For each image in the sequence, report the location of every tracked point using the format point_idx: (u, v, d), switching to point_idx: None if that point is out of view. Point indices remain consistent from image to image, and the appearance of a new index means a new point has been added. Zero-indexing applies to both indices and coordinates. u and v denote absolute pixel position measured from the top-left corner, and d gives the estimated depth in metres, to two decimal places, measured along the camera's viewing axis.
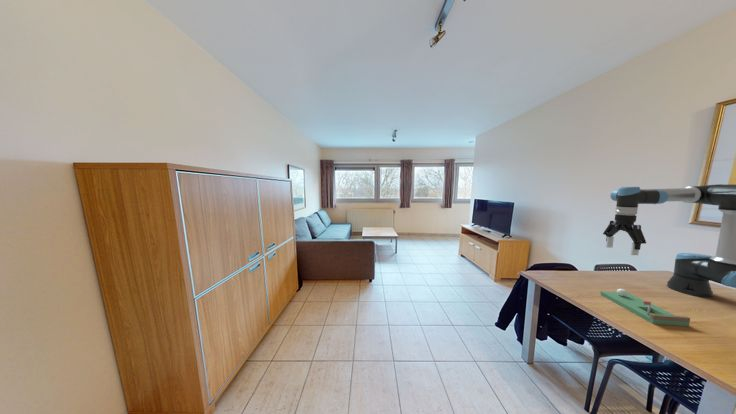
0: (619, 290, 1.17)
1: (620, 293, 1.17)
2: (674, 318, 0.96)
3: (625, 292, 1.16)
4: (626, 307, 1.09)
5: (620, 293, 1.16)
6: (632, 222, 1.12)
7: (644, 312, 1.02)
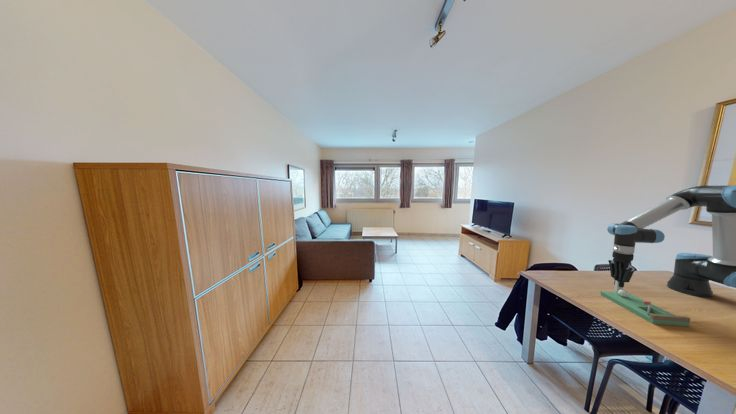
0: (621, 291, 1.16)
1: (621, 294, 1.16)
2: (674, 318, 0.96)
3: (627, 294, 1.15)
4: (626, 307, 1.09)
5: (621, 294, 1.16)
6: None
7: (644, 312, 1.02)
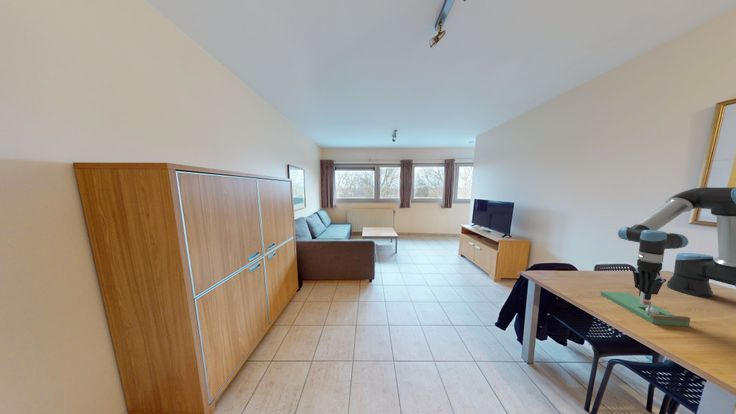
0: (650, 310, 1.02)
1: None
2: (674, 318, 0.96)
3: None
4: (626, 307, 1.09)
5: (650, 313, 1.03)
6: None
7: (644, 312, 1.02)
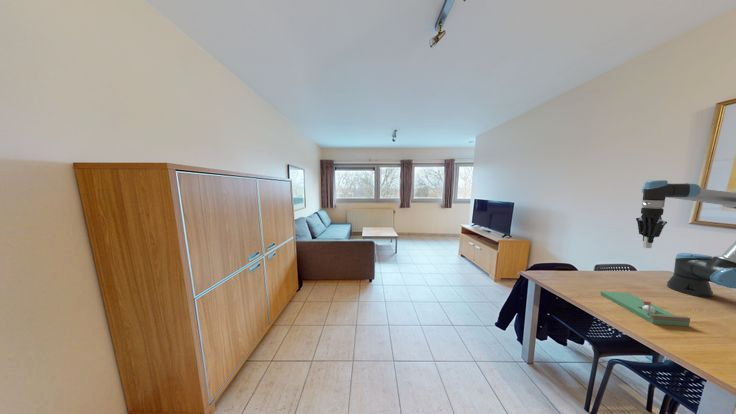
0: (646, 307, 1.04)
1: (647, 310, 1.04)
2: (674, 318, 0.96)
3: (653, 310, 1.03)
4: (626, 307, 1.09)
5: (647, 310, 1.04)
6: None
7: (644, 312, 1.02)
